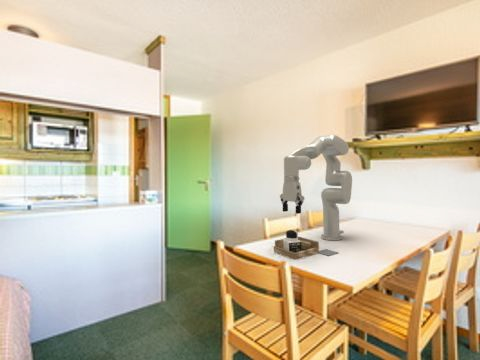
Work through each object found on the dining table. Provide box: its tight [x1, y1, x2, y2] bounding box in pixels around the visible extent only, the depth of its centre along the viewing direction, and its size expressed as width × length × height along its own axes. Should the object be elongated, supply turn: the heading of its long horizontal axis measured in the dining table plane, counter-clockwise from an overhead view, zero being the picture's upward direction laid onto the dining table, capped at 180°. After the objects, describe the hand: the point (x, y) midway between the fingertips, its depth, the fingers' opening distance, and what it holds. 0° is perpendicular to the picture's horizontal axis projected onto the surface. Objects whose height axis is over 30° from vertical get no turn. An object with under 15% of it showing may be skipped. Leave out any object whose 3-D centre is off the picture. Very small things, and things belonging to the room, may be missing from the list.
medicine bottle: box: [282, 229, 302, 253], centre depth 139 cm, size 7×7×12 cm
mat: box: [318, 248, 340, 257], centre depth 139 cm, size 8×8×1 cm
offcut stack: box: [300, 240, 312, 251], centre depth 144 cm, size 4×9×5 cm, turn 32°
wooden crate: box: [273, 236, 320, 261], centre depth 140 cm, size 17×16×6 cm
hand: (291, 212), depth 139 cm, fingers open, 9 cm apart
